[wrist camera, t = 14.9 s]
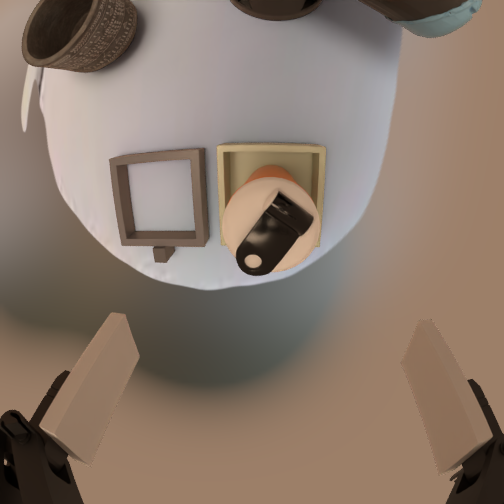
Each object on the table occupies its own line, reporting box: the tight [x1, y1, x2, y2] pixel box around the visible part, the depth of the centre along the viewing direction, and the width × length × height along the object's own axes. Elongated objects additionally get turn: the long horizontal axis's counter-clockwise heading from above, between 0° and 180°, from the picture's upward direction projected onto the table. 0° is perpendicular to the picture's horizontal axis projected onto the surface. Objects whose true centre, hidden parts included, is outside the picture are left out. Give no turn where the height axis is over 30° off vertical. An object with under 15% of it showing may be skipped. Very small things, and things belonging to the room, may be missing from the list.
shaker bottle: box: [222, 165, 320, 276], centre depth 32 cm, size 9×9×20 cm
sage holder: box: [217, 143, 326, 247], centre depth 38 cm, size 14×14×6 cm
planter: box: [22, 0, 137, 73], centre depth 24 cm, size 14×14×15 cm
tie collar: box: [109, 148, 209, 263], centre depth 41 cm, size 17×14×4 cm
